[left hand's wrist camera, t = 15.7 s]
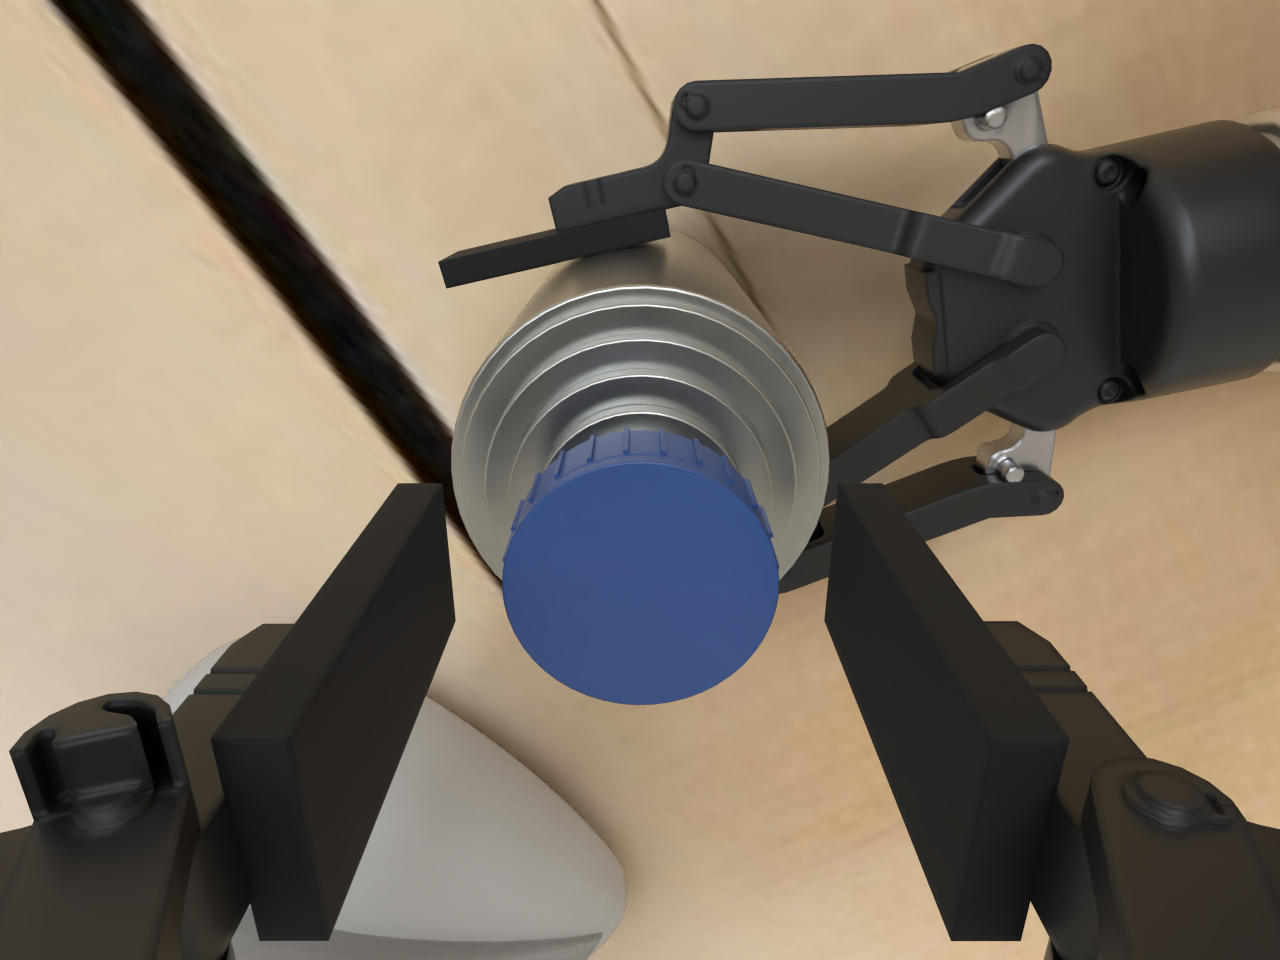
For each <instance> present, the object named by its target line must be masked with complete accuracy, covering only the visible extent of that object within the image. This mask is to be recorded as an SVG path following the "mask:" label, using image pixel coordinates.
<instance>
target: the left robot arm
mask: <svg viewBox="0 0 1280 960" xmlns="http://www.w3.org/2000/svg"><path fill="white" fill-rule="evenodd" d="M455 621H456V620H455V610H454V600H453V590H452V579H451V569H450V559H449V549H448V539H447V528H446V518H445V508H444V498H443V487H442V483H398V484H397V486H396V487H395V488H394V490H393V491H392V492H391V494H390V495H389V496H388V498H387V499H386V500H385V502H384V503H383V505H382V506H381V507H380V509H379V510H378V511H377V513H376V514H375V515H374V517H373V518H372V519H371V521H370V522H369V524H368V525H367V526H366V528H365V529H364V530H363V532H362V533H361V534H360V536H359V537H358V539H357V540H356V541H355V543H354V544H353V545H352V547H351V548H350V549H349V551H348V552H347V553H346V555H345V556H344V558H343V559H342V560H341V562H340V563H339V564H338V566H337V567H336V568H335V570H334V571H333V572H332V574H331V575H330V577H329V578H328V579H327V581H326V582H325V583H324V585H323V586H322V587H321V589H320V590H319V592H318V593H317V594H316V596H315V597H314V598H313V600H312V601H311V602H310V604H309V605H308V606H307V608H306V609H305V611H304V612H303V613H302V615H301V616H300V617H299V619H298V620H297V621H296V623H295V624H262V625H261V626H259V627H257V628H256V629H254V630H253V631H251V632H250V633H248V634H247V635H245V636H243V637H242V638H240V639H239V640H237V641H236V642H234V643H233V644H231V645H230V646H229V647H228V649H227V650H226V651H225V652H224V653H223V655H222V656H221V657H220V658H219V659H218V661H217V662H216V663H215V664H214V665H213V667H212V668H211V672H210V674H206V675H205V676H204V677H203V679H202V680H201V681H200V682H199V683H198V685H197V686H196V687H195V688H194V692H193V694H189V695H188V697H187V698H186V699H185V700H184V701H183V703H182V704H181V705H180V706H179V707H178V709H177V710H176V711H175V712H174V713H173V714H172V711H171V707H170V705H169V704H168V703H167V702H165V701H164V700H163V699H161V698H160V697H159V696H157V695H152V694H146V693H140V692H127V693H116V694H107V695H104V696H100V697H96V698H92V699H89V700H85V701H81V702H78V703H76V704H74V705H71V706H69V707H67V708H65V709H63V710H60V711H58V712H56V713H54V714H52V715H49V716H48V717H46V718H45V719H43V720H42V721H41V722H39V723H38V724H36V725H35V726H33V727H32V728H31V729H29V730H28V731H26V732H25V733H24V734H23V735H22V736H21V737H20V739H19V740H18V741H17V742H16V743H15V745H14V746H13V747H12V748H11V749H10V751H9V752H10V755H11V758H12V761H13V764H14V766H15V769H16V772H17V775H18V777H19V780H20V783H21V786H22V789H23V791H24V794H25V797H26V800H27V803H28V805H29V808H30V811H31V814H32V816H33V819H34V822H33V825H31V826H27V827H24V828H20V829H16V830H11V831H7V832H2V833H0V960H236V959H235V953H234V949H233V945H232V941H231V939H232V937H233V936H234V934H235V932H236V930H237V928H238V926H239V924H240V922H241V920H242V918H243V916H244V914H245V913H246V911H247V909H248V907H249V905H250V904H251V909H252V913H253V917H254V921H255V925H256V929H257V933H258V937H259V941H329V939H330V937H331V934H332V932H333V929H334V927H335V924H336V921H337V919H338V916H339V914H340V911H341V909H342V906H343V904H344V901H345V899H346V896H347V894H348V891H349V889H350V886H351V884H352V881H353V879H354V876H355V873H356V871H357V868H358V866H359V863H360V861H361V858H362V856H363V853H364V851H365V848H366V846H367V843H368V841H369V838H370V836H371V833H372V830H373V828H374V825H375V823H376V820H377V818H378V815H379V813H380V810H381V808H382V805H383V803H384V800H385V798H386V795H387V793H388V790H389V788H390V785H391V782H392V780H393V777H394V775H395V772H396V770H397V767H398V765H399V762H400V760H401V757H402V755H403V752H404V750H405V747H406V745H407V742H408V740H409V737H410V734H411V732H412V729H413V727H414V724H415V722H416V719H417V717H418V714H419V712H420V709H421V707H422V704H423V702H424V699H425V697H426V694H427V692H428V689H429V686H430V684H431V681H432V679H433V676H434V674H435V671H436V669H437V666H438V664H439V661H440V659H441V656H442V654H443V651H444V649H445V646H446V644H447V641H448V638H449V636H450V633H451V631H452V628H453V626H454V623H455ZM824 621H825V623H826V626H827V628H828V631H829V633H830V636H831V638H832V641H833V644H834V646H835V649H836V651H837V654H838V656H839V659H840V661H841V664H842V666H843V669H844V671H845V674H846V676H847V679H848V681H849V684H850V686H851V689H852V692H853V694H854V697H855V699H856V702H857V704H858V707H859V709H860V712H861V714H862V717H863V719H864V722H865V724H866V727H867V729H868V732H869V734H870V737H871V740H872V742H873V745H874V747H875V750H876V752H877V755H878V757H879V760H880V762H881V765H882V767H883V770H884V772H885V775H886V777H887V780H888V782H889V785H890V788H891V790H892V793H893V795H894V798H895V800H896V803H897V805H898V808H899V810H900V813H901V815H902V818H903V820H904V823H905V825H906V828H907V830H908V833H909V836H910V838H911V841H912V843H913V846H914V848H915V851H916V853H917V856H918V858H919V861H920V863H921V866H922V868H923V871H924V873H925V876H926V879H927V881H928V884H929V886H930V889H931V891H932V894H933V896H934V899H935V901H936V904H937V906H938V909H939V911H940V914H941V916H942V919H943V921H944V924H945V927H946V929H947V932H948V934H949V937H950V939H951V941H1021V937H1022V933H1023V929H1024V925H1025V921H1026V917H1027V913H1028V909H1029V904H1030V901H1031V903H1032V905H1033V906H1034V908H1035V910H1036V912H1037V914H1038V916H1039V918H1040V920H1041V922H1042V924H1043V926H1044V927H1045V929H1046V931H1047V933H1048V935H1049V937H1050V938H1049V941H1048V945H1047V949H1046V953H1045V957H1044V960H1280V829H1276V828H1271V827H1267V826H1262V825H1258V824H1255V823H1251V822H1248V821H1246V819H1245V818H1244V816H1243V815H1242V813H1241V812H1240V811H1239V809H1238V808H1237V806H1236V805H1235V804H1234V802H1233V801H1232V800H1231V799H1230V798H1229V797H1227V796H1226V795H1225V794H1224V793H1222V792H1221V791H1220V790H1219V789H1217V788H1216V787H1215V786H1214V785H1212V784H1211V783H1210V782H1208V781H1206V780H1204V779H1202V778H1201V777H1199V776H1197V775H1195V774H1193V773H1191V772H1189V771H1187V770H1185V769H1183V768H1181V767H1178V766H1175V765H1171V764H1168V763H1165V762H1162V761H1158V760H1155V759H1151V758H1147V757H1146V756H1145V755H1144V753H1143V752H1142V751H1141V750H1140V749H1139V748H1138V746H1137V745H1136V744H1135V743H1134V742H1133V740H1132V739H1131V738H1130V737H1129V736H1128V734H1127V733H1126V732H1125V731H1124V730H1123V729H1122V727H1121V726H1120V725H1119V724H1118V723H1117V721H1116V720H1115V719H1114V718H1113V717H1112V715H1111V714H1110V713H1109V712H1108V711H1107V709H1106V708H1105V707H1104V706H1103V705H1102V704H1101V702H1100V701H1099V700H1098V699H1097V698H1096V696H1095V695H1094V694H1093V693H1092V692H1088V691H1087V686H1086V685H1085V683H1084V682H1083V681H1082V680H1081V679H1080V677H1079V676H1078V675H1077V674H1076V673H1075V671H1071V670H1070V665H1069V664H1068V663H1067V662H1066V661H1065V660H1064V658H1063V657H1062V656H1061V655H1060V654H1059V652H1058V651H1057V650H1056V649H1055V648H1054V646H1053V645H1052V644H1051V643H1050V642H1049V641H1047V640H1046V639H1044V638H1043V637H1041V636H1040V635H1038V634H1036V633H1035V632H1033V631H1032V630H1030V629H1029V628H1027V627H1026V626H1024V625H1022V624H1021V623H1019V622H1018V621H983V620H982V619H981V617H980V616H979V615H978V613H977V612H976V611H975V609H974V608H973V606H972V605H971V604H970V602H969V601H968V600H967V598H966V597H965V596H964V594H963V593H962V592H961V590H960V589H959V587H958V586H957V585H956V583H955V582H954V581H953V579H952V578H951V577H950V575H949V574H948V572H947V571H946V570H945V568H944V567H943V566H942V564H941V563H940V562H939V560H938V559H937V558H936V556H935V555H934V553H933V552H932V551H931V549H930V548H929V547H928V545H927V544H926V543H925V541H924V540H923V539H922V537H921V536H920V534H919V533H918V532H917V530H916V529H915V528H914V526H913V525H912V524H911V522H910V521H909V519H908V518H907V517H906V515H905V514H904V513H903V511H902V510H901V509H900V507H899V506H898V505H897V503H896V502H895V500H894V499H893V498H892V496H891V495H890V494H889V492H888V491H887V490H886V488H885V487H884V486H883V484H882V483H838V487H837V498H836V508H835V518H834V528H833V539H832V549H831V559H830V569H829V580H828V590H827V600H826V610H825V620H824Z"/></svg>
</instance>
